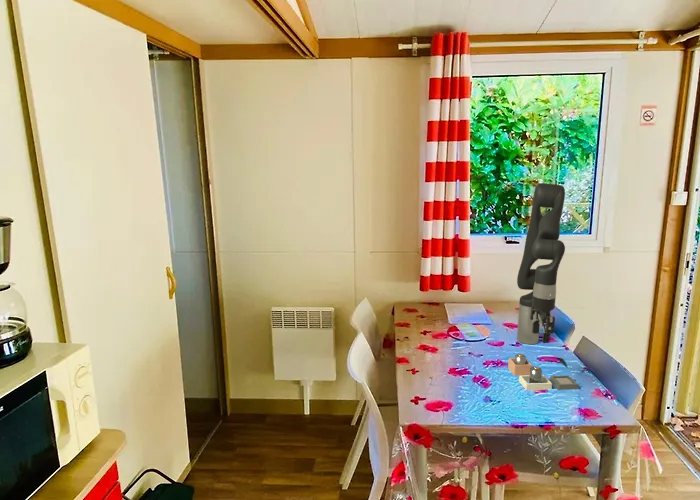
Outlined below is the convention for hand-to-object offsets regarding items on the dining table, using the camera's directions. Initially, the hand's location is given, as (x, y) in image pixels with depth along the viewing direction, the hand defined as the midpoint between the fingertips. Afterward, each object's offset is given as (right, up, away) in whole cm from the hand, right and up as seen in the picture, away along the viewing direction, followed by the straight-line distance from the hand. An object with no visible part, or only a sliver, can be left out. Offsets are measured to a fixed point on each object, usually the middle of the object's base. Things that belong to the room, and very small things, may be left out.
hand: (540, 337), depth 177 cm
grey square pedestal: (+9, -18, +2) cm, 20 cm away
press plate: (+9, -17, +2) cm, 19 cm away
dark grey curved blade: (+13, -15, +19) cm, 28 cm away
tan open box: (-3, -16, +12) cm, 21 cm away
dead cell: (-3, -15, +12) cm, 20 cm away
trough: (-1, -18, +2) cm, 18 cm away
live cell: (-1, -18, +2) cm, 18 cm away
